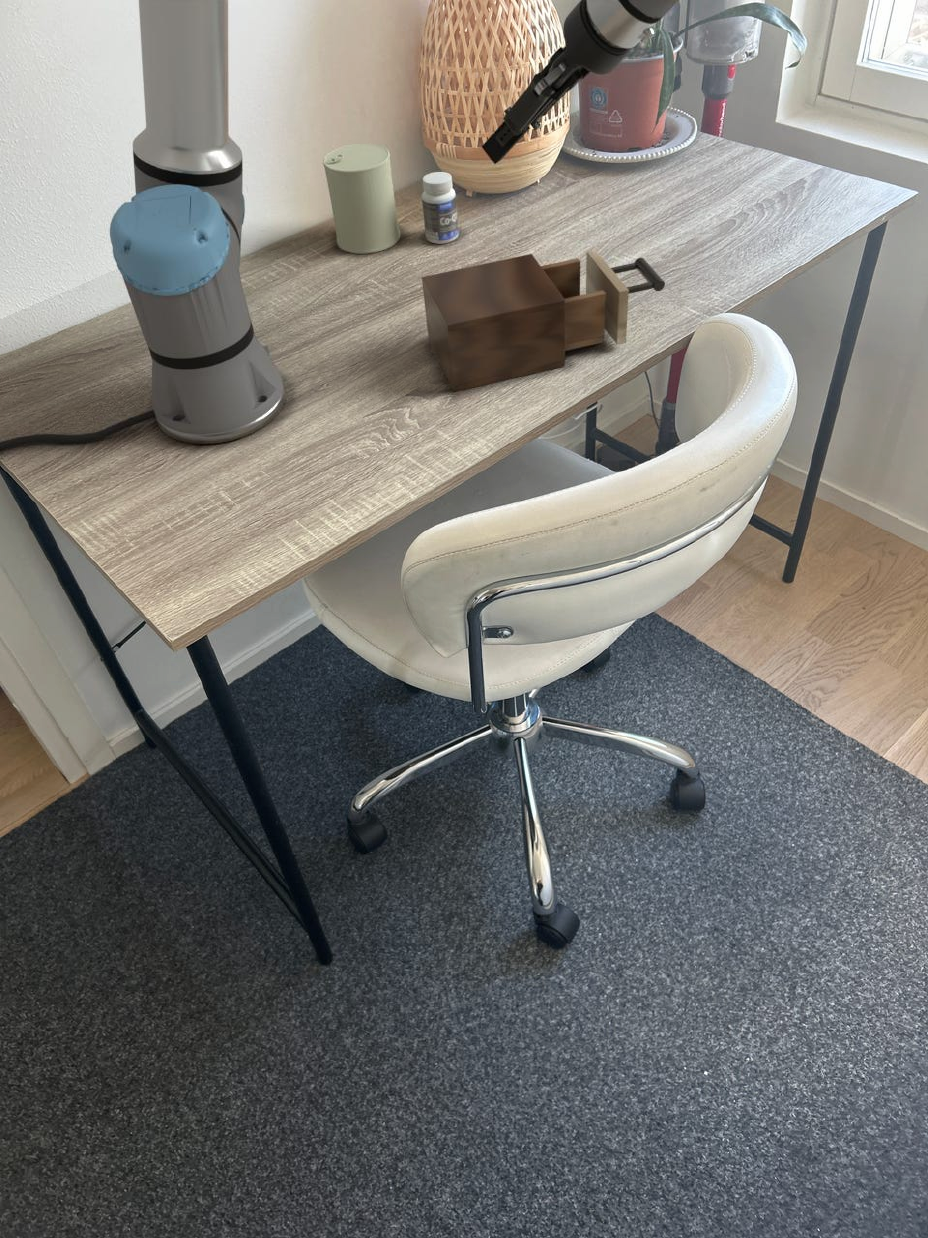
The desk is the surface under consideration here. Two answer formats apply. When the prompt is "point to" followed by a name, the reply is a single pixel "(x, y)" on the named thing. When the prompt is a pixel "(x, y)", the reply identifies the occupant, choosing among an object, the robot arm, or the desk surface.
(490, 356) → the cabinet
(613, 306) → the drawer
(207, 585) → the desk surface
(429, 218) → the pill bottle
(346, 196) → the can
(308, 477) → the desk surface
